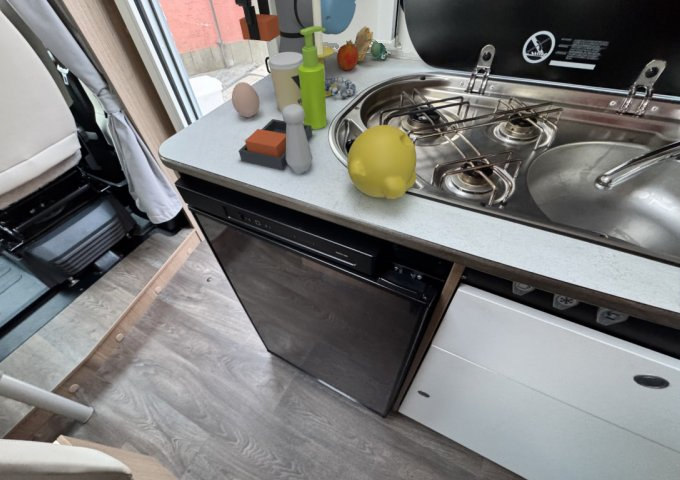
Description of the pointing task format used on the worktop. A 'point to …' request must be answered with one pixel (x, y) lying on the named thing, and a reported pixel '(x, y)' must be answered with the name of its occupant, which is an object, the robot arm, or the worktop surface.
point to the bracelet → (339, 81)
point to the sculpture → (382, 162)
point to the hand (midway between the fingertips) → (261, 35)
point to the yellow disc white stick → (321, 49)
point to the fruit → (347, 56)
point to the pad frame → (268, 159)
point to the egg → (245, 99)
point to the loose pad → (263, 27)
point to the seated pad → (267, 142)
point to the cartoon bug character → (363, 44)
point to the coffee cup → (286, 78)
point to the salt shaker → (296, 139)
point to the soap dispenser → (312, 82)
